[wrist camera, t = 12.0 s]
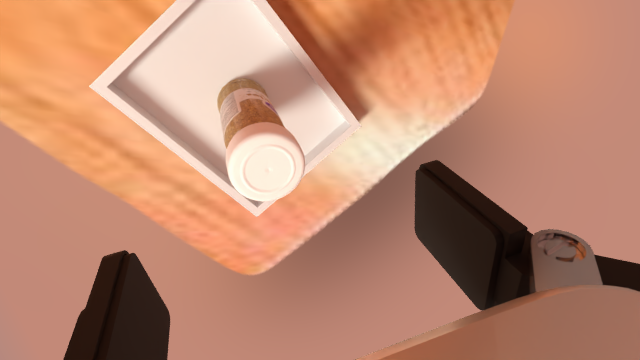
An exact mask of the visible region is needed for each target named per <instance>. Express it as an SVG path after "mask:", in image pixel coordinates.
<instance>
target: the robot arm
mask: <svg viewBox="0 0 640 360" xmlns="http://www.w3.org/2000/svg"><path fill="white" fill-rule="evenodd" d="M415 184H416V185H415V233H416V235H417V237H418V239H419V240H420V241H421V242H422V243H423V244H424V246H425V247H426V248H427V249H428V250H429V252H430V253H431V254H432V255H433V256H434V258H435V259H436V260H437V261H438V262H439V263H440V265H441V266H442V267H443V268H444V269H445V270H446V272H447V273H448V274H449V275H450V276H451V278H452V279H453V280H454V281H455V282H456V283H457V285H458V286H459V287H460V288H461V289H462V290H463V292H464V293H465V294H466V295H467V296H468V297H469V299H470V300H471V301H472V302H473V303H474V305H475V306H476V307H477V308H478V309H480V310H483V311H481V312H478V313H475V314H473V315H470V316H467V317H464V318H462V319H459V320H457V321H454V322H452V323H449V324H446V325H444V326H441V327H438V328H436V329H433V330H431V331H428V332H425V333H423V334H420V335H417V336H415V337H412V338H410V339H407V340H404V341H402V342H399V343H396V344H394V345H391V346H389V347H386V348H384V349H381V350H378V351H376V352H373V353H371V354H368V355H366V356H363V357H360V358H358V359H355V360H640V264H636V263H632V262H627V261H622V260H617V259H613V258H608V257H602V256H598V255H594V253H593V250H592V249H591V247H590V245H588V244H587V243H586V242H585V241H584V240H583V239H581V238H579V237H578V236H576V235H574V234H571V233H569V232H565V231H561V230H553V229H552V230H551V229H548V230H541V231H539V232H537V233H535V234H534V235H533V234H531V233H530V232H529V231H527V227H526V226H525V225H523V224H522V223H521V222H519V221H518V220H517V219H515V218H514V217H512V216H511V215H510V214H509V213H507V212H506V211H504V210H503V209H502V208H501V207H499V206H498V205H497V204H495V203H494V202H493V201H491V200H490V199H489V198H487V197H486V196H485V195H483V194H482V193H481V192H480V191H478V190H477V189H475V188H474V187H473V186H472V185H470V184H469V183H468V182H466V181H465V180H464V179H462V178H461V177H460V176H458V175H457V174H456V173H454V172H453V171H452V170H450V169H449V168H448V167H446V166H445V165H444V164H442V163H441V162H440V161H438V160H435V161H432V162H428V163H424V164H421V165H420V167H419V169H418V170H417V171H416V181H415ZM169 329H170V315H169V311H168V309H167V307H166V306H165V304H164V302H163V300H162V299H161V297H160V296H159V293H158V292H157V290H156V288H155V287H154V285H153V283H152V281H151V280H150V278H149V276H148V275H147V273H146V271H145V269H144V268H143V266H142V264H141V262H140V261H139V259H138V257H137V256H136V254H135V253H131V254H129V253H128V252H127V251H125V250H124V251H121V252H117V253H113V254H110V255H107V256H104V257H103V258H102V261H101V264H100V266H99V269H98V272H97V275H96V278H95V281H94V284H93V288H92V290H91V294H90V296H89V299H88V302H87V305H86V308H85V309H84V310H83V311H82V312H81V313H80V315H79V317H78V320H77V323H76V326H75V328H74V331H73V334H72V337H71V340H70V342H69V345H68V348H67V351H66V354H65V357H64V360H167V353H168V342H169Z"/></svg>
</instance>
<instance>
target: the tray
mask: <svg viewBox="0 0 640 360" xmlns="http://www.w3.org/2000/svg"><path fill="white" fill-rule="evenodd" d="M241 78H244V79H250V80H253V81H255V82H257V83H258V84H260V85H261V86H262V87H263V89H264V90H265V92H266V94H267V96H268V99H269V100H270V101H271V103H272V105H273V107H274V109H275V110H276V112H277V114H278V115H279V117H280V118H281V120H282V123H283V125H284V127H285V128H286V129H287V130H289V131H290V132H291V133H292V134H293V136H294V137H295V138H296V140H297V142H298V143H299V145H300V147H301V149H302V151H303V153H304V157H305V171H304V174H303V177H304V176H305V175H306V174H307V173H308V172H309V171H311V170H312V169H313V168H314V167H315V166H316V165H318V164H319V163H320V162H321V161H322V160H323V159H324V158H326V157H327V156H328V155H329V154H330V153H331V152H333V151H334V150H335V149H336V148H337V147H338V146H339V145H341V144H342V143H343V142H344V141H345V140H346V139H347V138H349V137H350V136H351V135H352V134H353V133H354V132H356V131H357V130H358V129H359V128H360V127H361V125H360V123H359V122H358V121H357V119H356V118H355V117H354V115H353V114H352V113H351V111H350V110H349V109H348V107H347V106H346V105H345V103H344V102H343V101H342V100H341V98H340V97H339V96H338V94H337V93H336V92H335V90H334V89H333V88H332V86H331V85H330V84H329V82H328V81H327V80H326V79H325V77H324V76H323V75H322V73H321V72H320V71H319V69H318V68H317V67H316V65H315V64H314V63H313V61H312V60H311V59H310V58H309V56H308V55H307V54H306V52H305V51H304V50H303V48H302V47H301V46H300V44H299V43H298V42H297V40H296V39H295V38H294V36H293V35H292V34H291V33H290V31H289V30H288V29H287V27H286V26H285V25H284V23H283V22H282V21H281V19H280V18H279V17H278V15H277V14H276V13H275V12H274V10H273V9H272V8H271V6H270V5H269V4H268V2H267V1H266V0H176V1H175V2H174V3H173V4H172V5H171V6H170V7H169V8H168V9H167V10H166V11H165V12H164V13H163V14H162V15H161V16H160V17H159V18H158V19H157V20H156V21H155V22H154V23H153V24H152V25H151V26H150V27H149V28H148V29H147V30H146V31H145V32H144V33H143V34H142V35H141V36H140V37H139V38H138V39H137V40H136V41H135V42H134V43H133V44H131V45H130V46H129V47H128V48H127V49H126V50H125V51H124V52H123V53H122V54H121V55H120V56H119V57H118V58H117V59H116V60H115V61H114V62H113V63H112V64H111V65H110V66H109V67H108V68H107V69H106V70H105V71H104V72H103V73H102V74H101V75H100V76H99V77H98V78H97V79H96V80H95V81H94V82H93V83H92V84H91V85H90V86H89V87H90V88H92V89H93V90H94V91H96V92H97V93H98V94H99V95H101V96H102V97H103V98H105V99H106V100H107V101H108V102H110V103H111V104H112V105H114V106H115V107H116V108H117V109H119V110H120V111H121V112H123V113H124V114H125V115H126V116H128V117H129V118H130V119H132V120H133V121H134V122H135V123H137V124H138V125H139V126H141V127H142V128H143V129H144V130H146V131H147V132H148V133H150V134H151V135H152V136H153V137H155V138H156V139H157V140H159V141H160V142H161V143H162V144H164V145H165V146H166V147H168V148H169V149H170V150H171V151H173V152H174V153H175V154H177V155H178V156H179V157H180V158H182V159H183V160H184V161H186V162H187V163H188V164H189V165H191V166H192V167H193V168H195V169H196V170H197V171H198V172H200V173H201V174H202V175H204V176H205V177H206V178H207V179H209V180H210V181H211V182H213V183H214V184H215V185H216V186H218V187H219V188H220V189H222V190H223V191H224V192H225V193H227V194H228V195H229V196H231V197H232V198H233V199H234V200H236V201H237V202H238V203H240V204H241V205H242V206H243V207H245V208H246V209H247V210H249V211H250V212H251V213H252V214H254V215H255V216H256V217H258V216H259V215H260V214H261V213H262V212H263V211H265V210H266V209H267V208H268V207H269V206H270V205H271V204H273V203H274V202H275V201H276V200H277V199H276V200H272V201H256V200H252V199H249V198H247V197H245V196H243V195H242V194H240V193H239V192H238V191H237V190H236V189H235V188H234V186H233V185H232V183H231V181H230V179H229V175H228V171H227V166H226V150H227V149H226V147H225V143H224V138H223V132H222V126H221V120H220V113H219V110H218V107H217V99H218V95H219V93H220V91H221V89H222V87H223V86H225V85H226V84H227V83H229V82H230V81H233V80H235V79H241ZM303 177H302V178H303Z"/></svg>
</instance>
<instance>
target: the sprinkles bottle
mask: <svg viewBox="0 0 640 360" xmlns="http://www.w3.org/2000/svg"><path fill="white" fill-rule="evenodd" d="M217 107H218V110H219V113H220V120H221V126H222V132H223V138H224V143H225V147H226V149H227V150H226V166H227V171H228V175H229V179H230V181H231V183H232V185H233V186H234V188H235V189H236V190H237V191H238V192H239V193H240V194H242V195H243V196H245V197H247V198H249V199H252V200H256V201H272V200H276V199H279V198H282V197H284V196H286V195H287V194H289V193H290V192H292V191H293V190H294V189H295V188H296V186H297V185H298V184H299V182H300V181H301V179H302V177H303V174H304V171H305V157H304V153H303V151H302V149H301V147H300V145H299V143H298V142H297V140H296V138H295V137H294V136H293V134H292V133H291V132H290V131H289V130H287V129H286V128H285V127H284V125H283V123H282V120H281V118H280V117H279V115H278V114H277V112H276V110H275V109H274V107H273V105H272V103H271V101H270V100H269V99H268V96H267V94H266V92H265V90H264V89H263V87H262V86H261V85H260V84H258V83H257V82H255V81H253V80H250V79H244V78H241V79H235V80H233V81H230V82H229V83H227V84H226V85H225V86H223V87H222V89H221V91H220V93H219V95H218V99H217Z"/></svg>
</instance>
